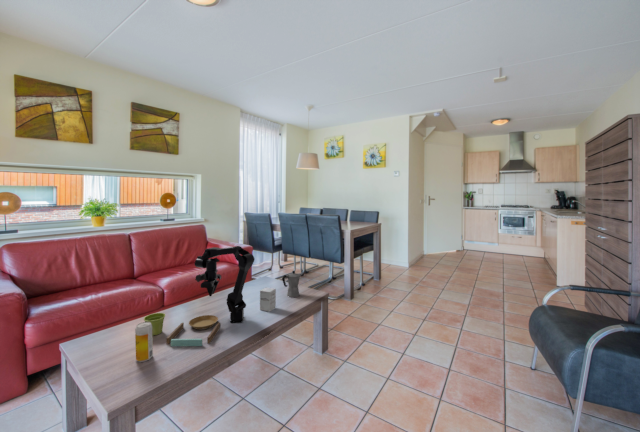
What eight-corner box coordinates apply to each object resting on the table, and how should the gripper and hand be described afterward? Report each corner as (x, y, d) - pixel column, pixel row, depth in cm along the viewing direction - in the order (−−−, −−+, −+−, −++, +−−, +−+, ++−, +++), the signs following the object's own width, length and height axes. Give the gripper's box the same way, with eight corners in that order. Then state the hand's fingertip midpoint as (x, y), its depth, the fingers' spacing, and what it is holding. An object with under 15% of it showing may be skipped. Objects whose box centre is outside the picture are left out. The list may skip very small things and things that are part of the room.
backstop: (202, 344, 128) (202, 338, 128) (201, 345, 127) (201, 339, 127) (171, 345, 127) (171, 339, 127) (170, 346, 126) (170, 340, 126)
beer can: (141, 354, 119) (140, 321, 118) (155, 354, 120) (154, 321, 119) (132, 363, 113) (131, 328, 112) (148, 362, 114) (147, 327, 113)
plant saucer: (189, 321, 153) (189, 317, 153) (217, 317, 158) (217, 313, 158) (187, 333, 139) (187, 328, 139) (218, 329, 145) (218, 324, 145)
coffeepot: (298, 292, 204) (298, 268, 203) (304, 295, 196) (304, 271, 195) (279, 295, 196) (279, 270, 195) (284, 299, 188) (285, 274, 187)
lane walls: (220, 327, 145) (220, 322, 145) (209, 343, 129) (209, 337, 129) (181, 328, 144) (181, 322, 144) (166, 344, 128) (166, 338, 128)
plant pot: (155, 338, 133) (155, 321, 133) (139, 336, 135) (139, 319, 134) (169, 330, 142) (169, 313, 142) (154, 328, 144) (154, 312, 144)
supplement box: (259, 310, 169) (259, 290, 169) (266, 306, 176) (266, 286, 176) (269, 312, 167) (269, 292, 166) (276, 307, 174) (276, 288, 173)
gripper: (203, 265, 169) (203, 289, 170) (190, 273, 150) (191, 300, 151) (221, 265, 170) (221, 289, 170) (211, 273, 151) (211, 300, 152)
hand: (211, 294), depth 161 cm, fingers open, 4 cm apart
